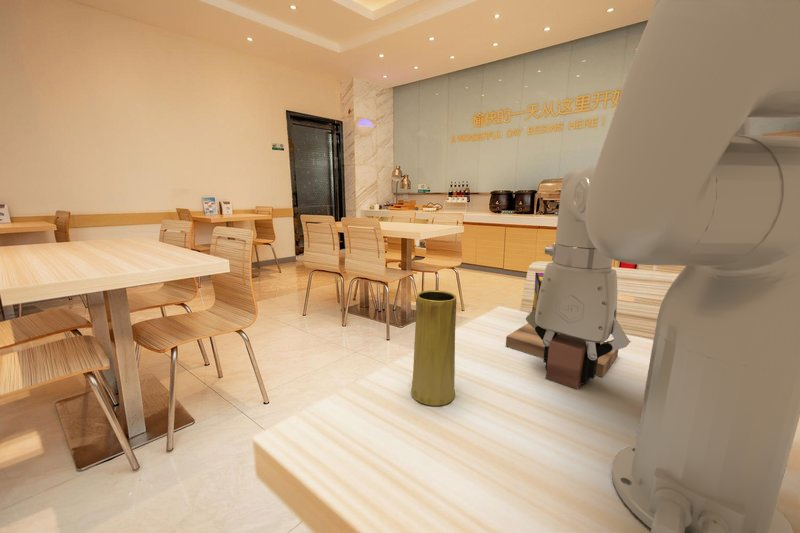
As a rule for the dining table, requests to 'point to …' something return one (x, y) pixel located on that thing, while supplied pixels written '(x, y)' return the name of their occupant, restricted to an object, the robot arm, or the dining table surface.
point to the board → (533, 345)
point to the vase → (434, 348)
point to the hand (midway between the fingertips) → (568, 372)
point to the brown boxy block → (566, 360)
